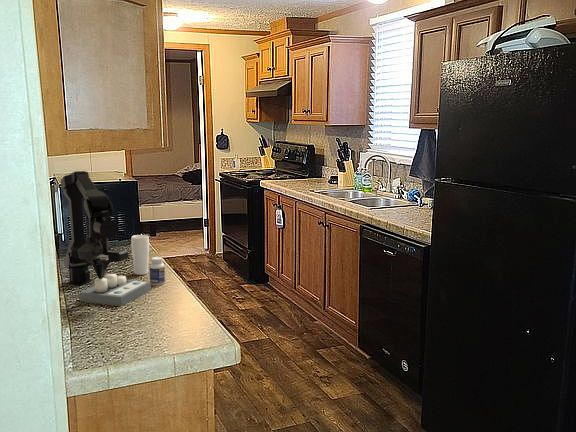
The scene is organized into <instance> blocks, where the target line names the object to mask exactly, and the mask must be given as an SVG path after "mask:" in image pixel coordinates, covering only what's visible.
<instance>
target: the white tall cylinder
mask: <svg viewBox="0 0 576 432" xmlns="http://www.w3.org/2000/svg"><path fill="white" fill-rule="evenodd" d="M130 239H131V240H130V243H131V244H130V246H131V255H132V261H133V272H134V275H136V276H144V275H147V274H148V273H149V257H150V237H149V235H147V234H136V235H132V236H131V238H130Z"/></svg>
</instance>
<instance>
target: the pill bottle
mask: <svg viewBox="0 0 576 432" xmlns="http://www.w3.org/2000/svg"><path fill="white" fill-rule="evenodd" d="M150 261H151V263H150V264H149V282H151V286H162V285H163V286H164V284H166V283H165V282H166V279H165V278H166V277H165V273H166V272H165V270H166V269H165V267H166V266H165V263H163V257H160V256H154V257H151V260H150Z"/></svg>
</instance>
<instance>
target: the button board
mask: <svg viewBox="0 0 576 432" xmlns="http://www.w3.org/2000/svg"><path fill="white" fill-rule="evenodd" d="M151 291H152V285H151V282H150V281H142V280H133V279H126V283H125V284H123V285H120V284H117V286H116V287H113V288H108V290H107V291H106V292H95V285H93V286H91V287H89V288H86V289H84V290H82V291H80V292H79V302H85V303H93V304H103V305H109V306H117V307H123V306H125V305H127V304H129V303H130V302H132V301H134V300H136V299H137V298H139V297H141V296H143V295H145V294H148V292H151Z"/></svg>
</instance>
